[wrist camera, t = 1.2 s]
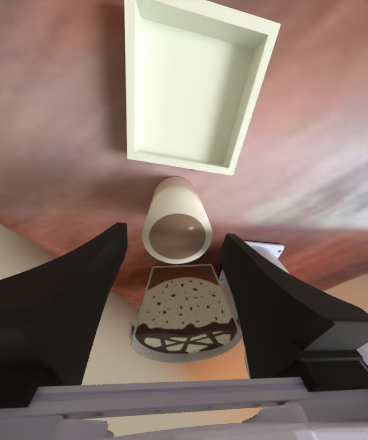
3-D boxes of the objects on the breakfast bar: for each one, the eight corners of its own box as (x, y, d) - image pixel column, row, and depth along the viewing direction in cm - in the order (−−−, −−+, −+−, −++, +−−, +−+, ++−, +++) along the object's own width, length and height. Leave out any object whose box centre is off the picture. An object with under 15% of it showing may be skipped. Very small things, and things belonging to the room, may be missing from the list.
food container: (147, 291, 26) (134, 368, 18) (142, 266, 23) (124, 344, 15) (216, 288, 27) (236, 360, 19) (220, 263, 24) (247, 336, 15)
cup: (193, 219, 20) (203, 266, 13) (152, 214, 19) (141, 261, 12) (201, 180, 17) (220, 211, 10) (155, 173, 17) (143, 202, 10)
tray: (224, 169, 17) (232, 175, 15) (134, 155, 15) (127, 158, 13) (260, 44, 12) (280, 23, 10) (134, 7, 11) (124, -26, 8)
